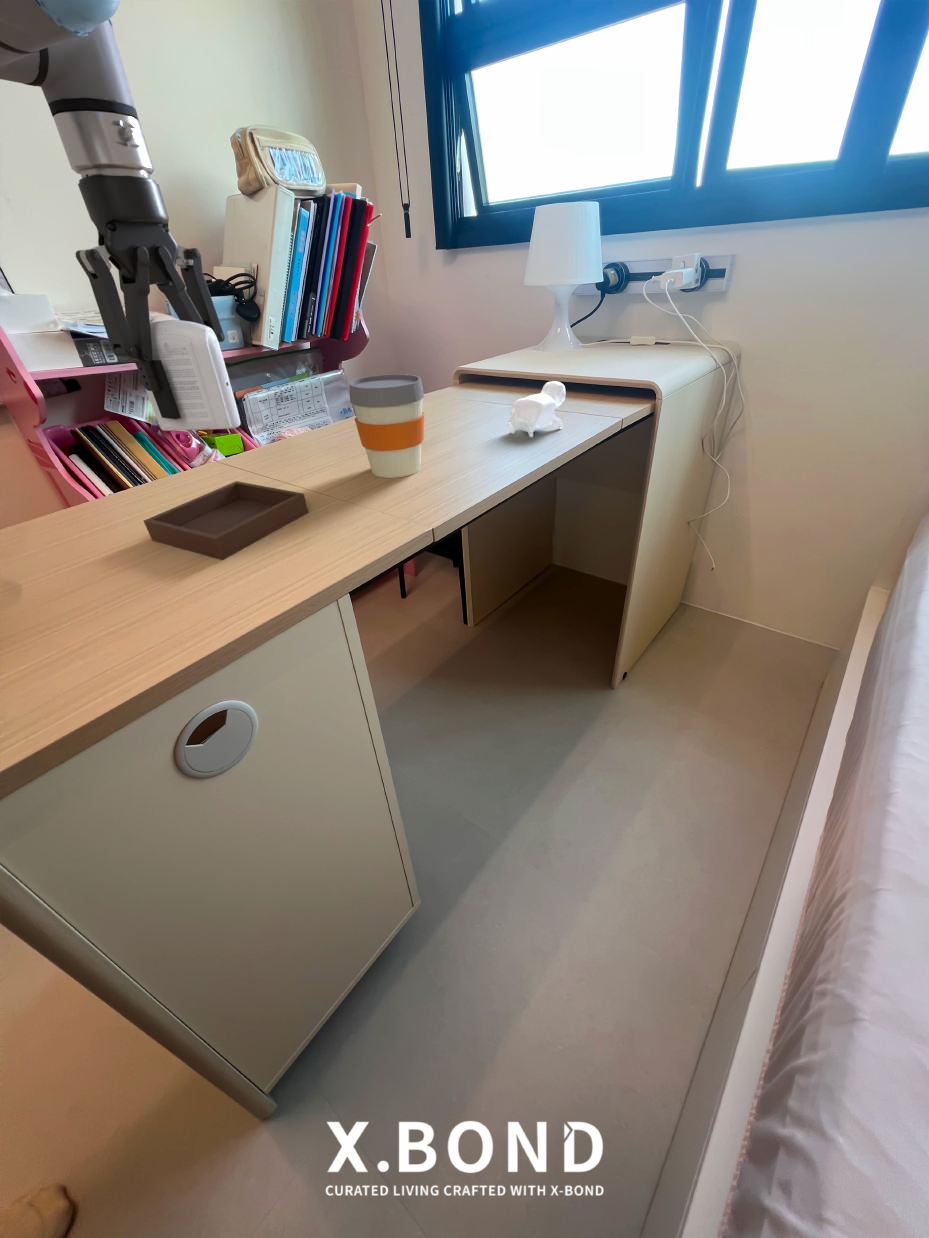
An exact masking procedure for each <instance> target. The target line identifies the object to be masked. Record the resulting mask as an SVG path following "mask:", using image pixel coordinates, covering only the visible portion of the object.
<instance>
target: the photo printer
mask: <svg viewBox="0 0 929 1238" xmlns="http://www.w3.org/2000/svg"><path fill="white" fill-rule="evenodd" d="M150 330H151V342H152V354H153V359H152V360H161V362H162V365H163V368H164V370H165V373H166V376H167V379H168V382H169V385H170V387H171V390H172V393H173V396H174V399H175V402H176V404H177V407H178V410H179V413H180V416H181V418H179V419H169V418H162V416H161V414H160V411H159V408H158V406H157V403H156V400H155V398H154V395H153V392H152V391H147V389H146V388H145V391H146V393H147V396H148V399H149V402H150V404H151V407H152V410H153V414H154V415H155V418H156V421H157V423H158V426H159V428H160V430H161V431H164V432H171V431H172V432H174V431H175V432H177V431H201V430H202V431H204V430H206V431H207V430H234V429H237V428H238V427H240V426H241V423H242V422H241V419H240V418H241V417H240V414H239V410H238V409H239V408H238V405H237V404H236V403H237V402H236V399H235V396H234V392H233V387H232V385H231V380H230V377H229V374H228V370H227V367H226V364H225V359H224V356H223V353H222V349H221V346H220V342H218V339H217V337H216V335H215V333H214V331H213V330H212V329H211V328H210V327H207V326H205V325H202V324H198V323H194V322H189V321H182V320H180V319H165V320H159V321H153V322H150Z"/></svg>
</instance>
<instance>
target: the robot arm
mask: <svg viewBox="0 0 929 1238" xmlns="http://www.w3.org/2000/svg"><path fill="white" fill-rule="evenodd" d="M120 2H121V0H0V80H2V81H8V82H12V83H13V82H14V83H17V84H18V83H19V84H24V85H27V86H32V87H39V88H41V91H42V94H43V95H44V98H45V101H46V103H47V106H48V107H49V111H50V113H51V117H52V118H53V121H54V123H55V126H56V130H57V132H58V135H59V137H60V140H61V143H62V146H63V149H64V152H65V154H66V157H67V160H68V163H69V166H70V168H71V170H72V171H73V172H75V173H76V174H79V175H80V177H81V178H80V179H79V180H78V183H77V186H78V189H79V192H80V194H81V197H82V199H83V202H84V205H85V208H86V211H87V213H88V216H89V219H90V221H91V222H92V223H93V225H94V226H95V228H96V230H97V236H98V237H97V239H98V240H97V244H98V245H97V246H94V247H92V248H88V249H87V248H86V249H79V250H76V251H75V258H76V260H77V262H78V263H79V265H80V267H81V268H82V269H83V272H84V273H85V274H86V276H87V279H88V280H89V283H90V287H91V290H92V292H93V296H94V299H95V303H96V305H97V309H98V312H99V314H100V318H101V320H102V324H103V327H104V329H105V332H106V335H107V339H108V342H109V345H110V348H111V351H112V354H113V355H114V356H115V357H117V358H124V359H128V360H129V361H133V362H134V364H135V366H136V369H137V371H138V374H139V376H140V380H141V381H142V384H143V387H144V388H145V390H146V389H147V391H152V392H153V395H154V398H155V400H156V403H157V406H158V408H159V411H160V414H161V416H162V418H169V419H179V418H181V416H180V413H179V410H178V407H177V404H176V402H175V399H174V396H173V393H172V390H171V387H170V385H169V382H168V379H167V376H166V373H165V370H164V368H163V365H162V362H161V360H152V359H153V354H152V342H151V330H150V323H151V320H150V318H151V317H150V307H149V295H150V293H151V286H152V285H155V286H156V287H157V288H158V290H159V291H160V293H163V295H164V296H165V297H166V299H167V301H168V303H169V304H170V306H171V308H172V309H173V311H174V313H175V314H176V316H177V318H178V320H182V321H189V322H194V323H198V324H202V325H205V326H207V327H210V328H211V329H212V330H213V331H214V333H215V335H216V337H217V339H218V342H219V343H223V342H224V341H225V333H224V330H223V327H222V324H221V322H220V318H219V316H218V313H217V310H216V307H215V304H214V301H213V299H212V296H211V293H210V290H209V287H208V283H207V281H206V278H205V275H204V272H203V263H202V254H201V251H200V250H199V249H198V248H197V247H190V248H188V247H185V246H181V245H179V244H177V242H176V239H174V237H173V236H172V234H171V232H170V229H169V221H170V217H169V213H168V211H167V208H166V204H165V201H164V197H163V194H162V191H161V188H160V184H158V183H157V180H155V179H152V178H151V175H152V174H154V171H155V168H154V164H153V161H152V158H151V155H150V152H149V148H148V144H147V142H146V138H145V134H144V132H143V127H142V125H141V122H140V119H139V116H138V112H137V109H136V106H135V102H134V98H133V94H132V91H131V87H130V85H129V81H128V78H127V75H126V71H125V67H124V64H123V60H122V57H121V54H120V50H119V46H118V43H117V42H118V41H117V40H116V35H115V33H114V27H113V26H114V25H113V21H112V17H114V15H115V14H116V12H117V10H118V9H119V5H120ZM112 265H113V266H114V267H115V269H116V270H118V280H119V281H118V282H119V288H120V290H121V292H122V293H123V302H124V307H123V304H122V301H121V298H120V294H119V291H118V287H117V284H116V282H115V281H116V280H115V279H114V276H113V274H112V272H111V269H112ZM176 265H177V267H179V268H180V269H179V270H180V273H179V271H178V269H177V268H176ZM147 391H146V392H147Z"/></svg>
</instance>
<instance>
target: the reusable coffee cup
mask: <svg viewBox="0 0 929 1238" xmlns="http://www.w3.org/2000/svg"><path fill="white" fill-rule="evenodd" d="M348 388H349V389H348V391H349V400H350V401H349V403H351V404H352V407H353V410H354V413H355V418H354V422H355V426H356V429H357V433H358V437H359V440H360V443H361V446H362V448H364V450H365V452H366V456H367V460H368V463H369V467H370V470H371V473H372V475H374V476H376V477H379V478H384V479H385V478H386V479H396V478H397V479H398V478H403V477H408V476H412V475H415V474H417V473H418V472H419V471H420V470H421V462H422V461H421V459H422V443H423V442H424V440H425V439H424V437H425V435H424V434H425V412H424V411H423V399H424V398H425V392H424V388H423V382H422V377H421V376H419V375H415V374H407V373H388V374H375V375H369V376H363V377H359V378H355V379H354V380H350V382H349V383H348Z"/></svg>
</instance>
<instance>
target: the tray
mask: <svg viewBox="0 0 929 1238" xmlns="http://www.w3.org/2000/svg"><path fill="white" fill-rule="evenodd" d="M307 514H309V509H308V505H307V501H306V496H305V493H303V492H299V491H293V490H287V489H282V488H276V487H271V486H265V485H260V484H255V483H250V482H242V481H238V480H236V481H234V482H231V483H229V484H227V485H224V486H222V487H219V488H217V489H215V490H213V491H209V492H207V493H205V494H203V495H200V496H198V497H196V498H193V499H191V500H189V501H186V502H184V503H182V504H179V505H176V506H175V507H172V508H170V509H168V510H165V511H163V512H161V513H158V514H155V515H154V516H151V517H149V518H146V519H144V520H143V524H144V526H145V528H146V530H147V532H148V535H149V537H150V539H151V541H153V542H157V543H160V544H163V545H166V546H169V547H170V546H171V547H173V548H178V549H181V550H185V551H189V552H192V553H196V554H199V555H203V556H207V557H211V558H214V559H218V560H221V561H223V560H226V559H227V558H229V557H230V556H232V555H234V554H236V553H238V552H239V551H241V550H243V549H245V548H246V547H248V546H250V545H253V544H254V543H256V542H258V541H259V540H261V539H263V538H265V537H266V536H269V535H270V534H272V533H274V532H277V531H278V530H280V529H281V528H283V527H285V526H286V525H289V524H290V523H292V522H294V521H295V520H297V519H299V518H301V517H302V516H304V515H307Z"/></svg>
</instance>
